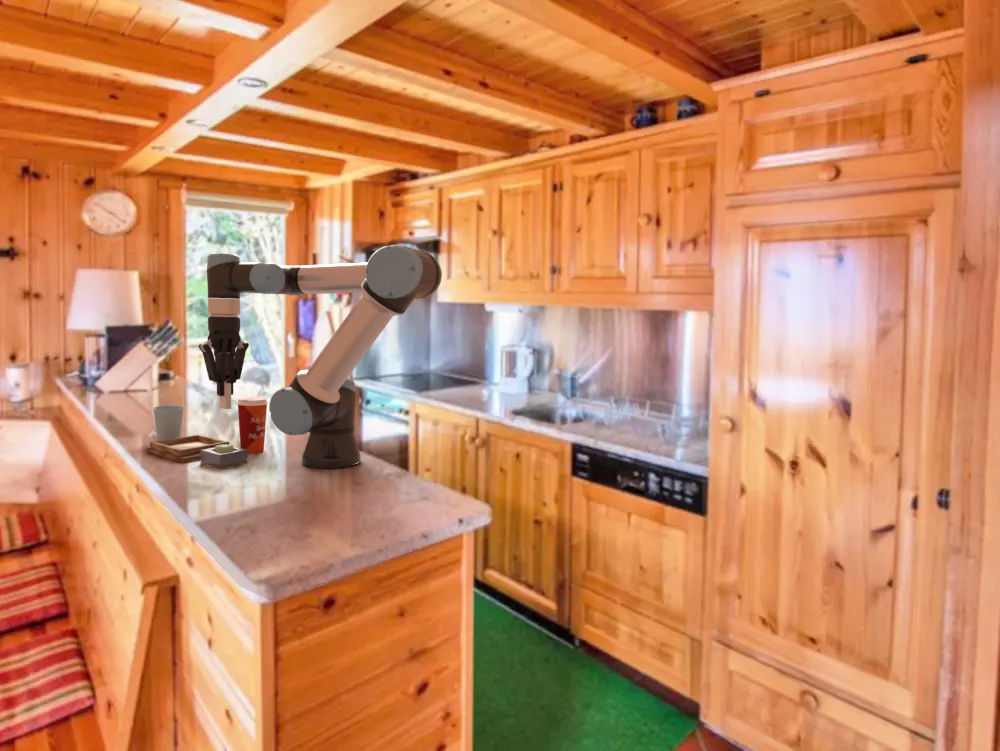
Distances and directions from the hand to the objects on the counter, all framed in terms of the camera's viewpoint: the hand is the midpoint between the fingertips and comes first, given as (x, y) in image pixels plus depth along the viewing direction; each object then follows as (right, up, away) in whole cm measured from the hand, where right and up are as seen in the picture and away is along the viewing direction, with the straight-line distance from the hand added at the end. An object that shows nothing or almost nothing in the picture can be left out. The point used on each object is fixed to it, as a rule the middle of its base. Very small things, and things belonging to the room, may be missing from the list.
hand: (225, 408), depth 163 cm
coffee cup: (+1, -13, +16) cm, 21 cm away
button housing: (-1, -14, +2) cm, 15 cm away
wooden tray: (-14, -13, +11) cm, 22 cm away
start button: (-1, -14, +2) cm, 14 cm away
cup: (-25, -11, +20) cm, 34 cm away
